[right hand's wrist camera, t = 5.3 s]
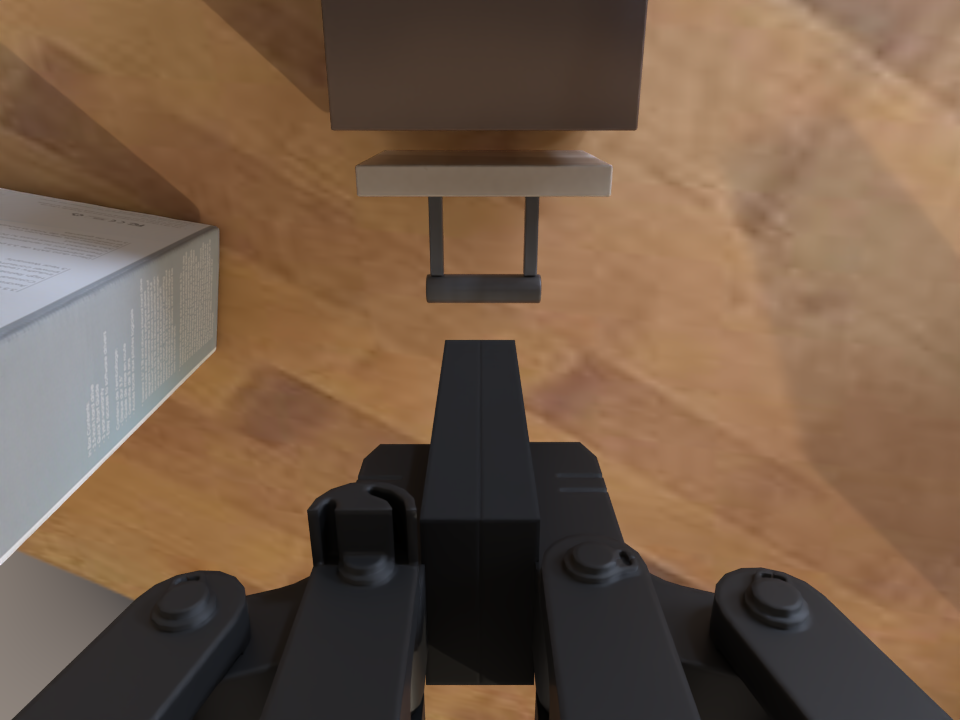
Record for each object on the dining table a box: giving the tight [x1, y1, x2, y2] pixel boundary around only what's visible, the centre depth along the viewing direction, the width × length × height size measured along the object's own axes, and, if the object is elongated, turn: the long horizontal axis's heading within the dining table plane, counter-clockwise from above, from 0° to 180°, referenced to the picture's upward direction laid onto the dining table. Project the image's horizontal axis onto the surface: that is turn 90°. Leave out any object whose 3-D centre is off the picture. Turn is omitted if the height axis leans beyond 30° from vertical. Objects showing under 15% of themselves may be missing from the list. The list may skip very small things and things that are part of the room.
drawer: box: [355, 150, 613, 303], centre depth 27 cm, size 24×10×8 cm, turn 0°
